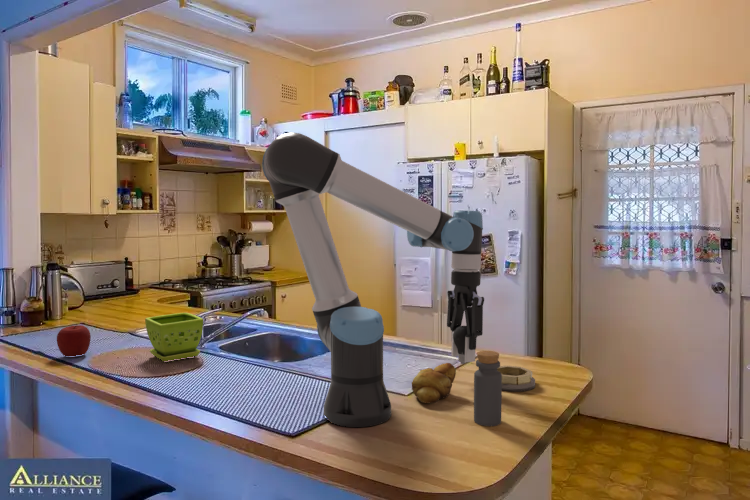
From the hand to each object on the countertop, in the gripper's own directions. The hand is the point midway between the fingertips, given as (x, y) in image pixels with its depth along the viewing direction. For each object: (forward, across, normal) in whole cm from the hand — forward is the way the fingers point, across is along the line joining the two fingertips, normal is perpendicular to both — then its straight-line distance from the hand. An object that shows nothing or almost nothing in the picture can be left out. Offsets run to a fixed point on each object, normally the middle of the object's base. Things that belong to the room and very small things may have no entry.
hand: (462, 358), depth 144 cm
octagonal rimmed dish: (+7, -5, -12) cm, 15 cm away
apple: (+11, +77, +95) cm, 123 cm away
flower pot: (+10, +62, +66) cm, 91 cm away
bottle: (+7, -24, +9) cm, 26 cm away
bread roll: (+8, -5, +12) cm, 15 cm away
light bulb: (+2, 0, 0) cm, 2 cm away
